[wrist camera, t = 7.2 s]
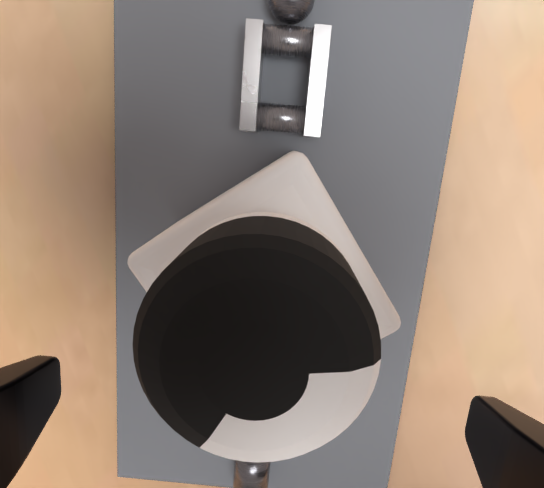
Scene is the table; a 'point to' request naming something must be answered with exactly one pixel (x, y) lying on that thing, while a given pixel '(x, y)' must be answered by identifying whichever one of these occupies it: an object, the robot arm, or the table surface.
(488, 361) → the table surface
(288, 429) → the medicine bottle
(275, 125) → the chain ends
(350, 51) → the rubber mat
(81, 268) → the table surface
